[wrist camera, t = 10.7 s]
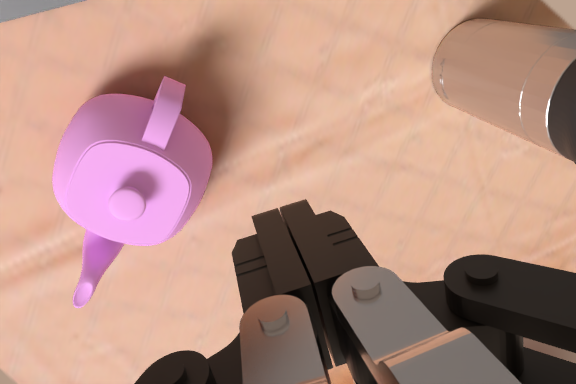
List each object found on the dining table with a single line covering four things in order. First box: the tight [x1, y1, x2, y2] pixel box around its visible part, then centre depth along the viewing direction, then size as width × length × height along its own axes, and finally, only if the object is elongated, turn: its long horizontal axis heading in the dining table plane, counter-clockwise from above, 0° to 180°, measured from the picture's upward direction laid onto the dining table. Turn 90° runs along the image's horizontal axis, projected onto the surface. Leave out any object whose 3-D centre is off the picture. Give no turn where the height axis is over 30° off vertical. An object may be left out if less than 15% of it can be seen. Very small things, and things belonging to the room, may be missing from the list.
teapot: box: [52, 76, 212, 308], centre depth 42 cm, size 13×20×11 cm
